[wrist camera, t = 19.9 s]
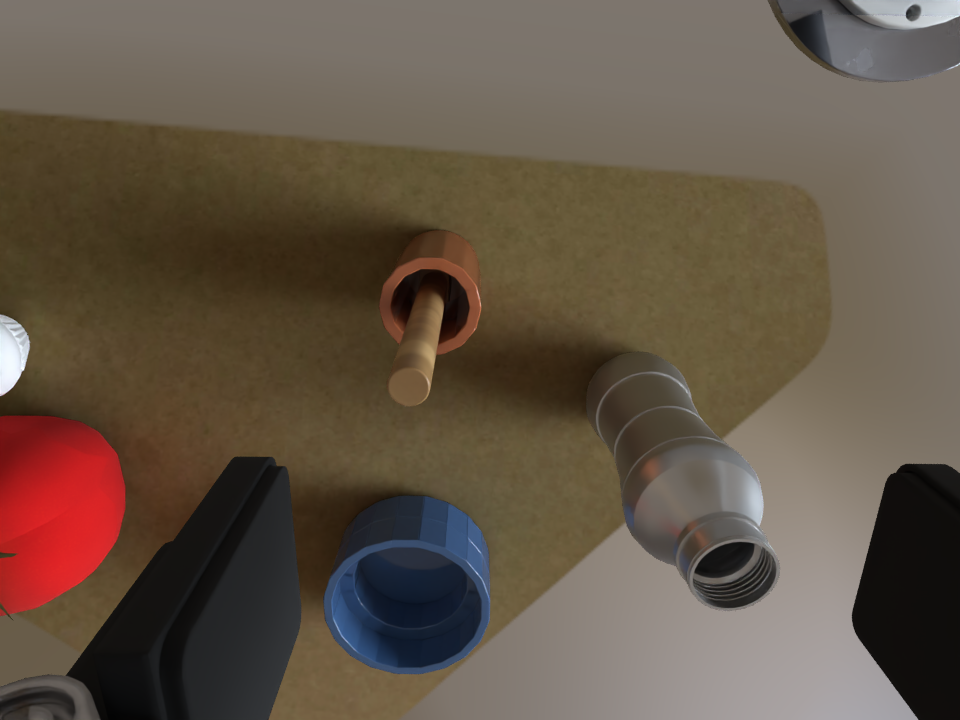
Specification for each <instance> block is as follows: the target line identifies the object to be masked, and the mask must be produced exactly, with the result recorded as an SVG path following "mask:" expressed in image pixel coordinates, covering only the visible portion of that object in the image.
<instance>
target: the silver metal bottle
mask: <svg viewBox="0 0 960 720" xmlns="http://www.w3.org/2000/svg"><path fill="white" fill-rule="evenodd" d="M586 412H587V416H588V420H589V422H590V424H591V426H592V427H593V429H594V430H595V432H596V433H597V435H598V436H599V437H600V438H601V439H602V441H603V442H604V443H605V444H606V445H607V446H608V448H609V450H610V452H611V453H612V455H613V457H614V459H615V463H616V466H617V470H618V474H619V477H620V487H621V497H622V506H623V511H624V515H625V520H626V524H627V527H628V529H629V531H630V533H631V535H632V536H633V537H634V538H635V540H636V541H637V542H638V543H639V544H640V545H641V546H642V547H643V548H644V549H645V550H646V551H647V552H648V553H649V554H651V555H652V556H654V557H655V558H656V559H658V560H660V561H663V562H665V563H667V564H671V565H674V566H676V567H677V569H678V571H679V573H680V575H681V576H682V578H683V579H684V580H685V581H686V582H687V584H688V586H689V588H690V590H691V592H692V594H693V595H694V596H695V597H696V598H697V599H698V601H700V602H701V603H702V604H704V605H705V606H708V607H710V608H713V609H716V610H724V611H732V610H739V609H744V608H747V607H749V606H752V605H754V604H756V603H758V602H759V601H761V600H762V599H763V598H765V597H766V596H767V595H768V594H769V593H770V592H771V591H772V590H773V588H774V587H775V585H776V583H777V580H778V578H779V574H780V565H779V561H778V558H777V555H776V553H775V551H774V550H773V549H772V547H771V546H770V544H769V543H768V540H767V538H766V535H765V533H764V532H763V531H762V529H761V528H760V527H759V526H760V522H761V519H762V516H763V506H764V503H763V497H762V491H761V485H760V481H759V479H758V477H757V474H756V472H755V471H754V469H753V468H752V467H751V465H750V464H749V463H748V462H747V461H746V460H745V459H744V458H743V457H742V456H741V455H740V454H739V453H738V452H737V451H736V450H734V449H733V448H732V447H730V446H729V445H728V444H727V443H726V442H724V441H723V440H722V439H721V438H719V437H718V436H717V435H716V434H715V433H714V432H713V431H712V430H711V429H710V428H709V426H708V425H707V424H706V423H705V422H704V421H703V420H702V419H701V417H700V416H699V414H698V412H697V410H696V408H695V406H694V404H693V402H692V398H691V393H690V391H689V388H688V386H687V383H686V381H685V379H684V377H683V375H682V374H681V373H680V371H679V370H678V369H677V368H676V367H675V366H673V365H672V364H671V363H669V362H668V361H666V360H664V359H662V358H661V357H659V356H657V355H654V354H651V353H647V352H629V353H625V354H621V355H619V356H616V357H614V358H612V359H610V360H609V361H607V362H606V363H604V364H603V365H602V366H601V367H600V368H599V369H598V370H597V371H596V373H595V374H594V375H593V377H592V379H591V381H590V383H589V385H588V390H587V395H586Z"/></svg>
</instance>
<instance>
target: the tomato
mask: <svg viewBox="0 0 960 720" xmlns="http://www.w3.org/2000/svg"><path fill="white" fill-rule="evenodd" d="M124 511H125V483H124V479H123V475H122V471H121V466H120V462H119V458H118V454H117V453H116V452H115V450H114V449H113V448H112V447H111V446H110V445H109V443H108V442H107V441H106V440H105V439H104V438H103V436H102V435H101V434H100V433H99V432H98V431H97V430H95V429H93V428H91V427H89V426H88V425H86V424H84V423H82V422H80V421H75V420H70V419H65V418H59V417H54V416H25V415H22V416H2V417H0V616H3V615H8V616H9V617H10V615H9V614H12V613H17V612H21V611H26V610H30V609H34V608H37V607H39V606H41V605H43V604H45V603H47V602H49V601H51V600H52V599H54V598H56V597H57V596H59V595H61V594H62V593H64V592H66V591H67V590H69V589H71V588H72V587H74V586H76V585H77V584H79V583H81V582H82V581H83V580H84V579H85V578H87V577H88V576H89V575H90V574H91V573H92V572H93V571H95V570H96V568H97V567H98V566H99V565H100V563H101V562H102V561H103V559H104V558H105V557H106V555H107V554H108V552H109V551H110V550H111V548H112V547H113V545H114V544H115V542H116V541H117V538H118V535H119V532H120V528H121V524H122V520H123V515H124ZM10 618H11V617H10ZM11 619H12V618H11Z"/></svg>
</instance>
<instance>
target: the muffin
mask: <svg viewBox="0 0 960 720" xmlns="http://www.w3.org/2000/svg"><path fill="white" fill-rule="evenodd" d="M28 338H29V336H27V332H26V331H25V330H24V328H23V327H22V326H21V324H18V322H17V321H15V320H14V319H12V318H9V317H7V316H4V315H0V396H2V395H4V394H5V393H7V392H8V391H9V390H11V389H12V388H13V387H14V385H15V384H16V382H17V381H18V378H20V376H21V372H22V371H24V368H25V364H26V360H27V356H28V352H29V348H30V345H29V343H30V341H29V340H28Z"/></svg>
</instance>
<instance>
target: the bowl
mask: <svg viewBox="0 0 960 720" xmlns="http://www.w3.org/2000/svg"><path fill="white" fill-rule="evenodd" d="M323 602H324V614H325V621H326V623H327V625H328V627H329V629H330V631H331V633H332V635H333V637H334V639H335V641H336V642H337V643H338V644H339V645H340V646H341V647H342V648H343V649H344V650H345V651H346V652H347V653H348V654H349V655H350V656H352V657H353V658H355V659H357V660H359V661H361V662H362V663H364V664H366V665H368V666H370V667H372V668H375V669H379V670H383V671H387V672H391V673H395V674H424V673H428V672H432V671H436V670H440V669H444V668H446V667H448V666H450V665H452V664H454V663H455V662H457V661H459V660H461V659H463V658H464V657H465V656H467V655H468V654H469V653H470V652H471V650H472V649H473V648H474V647H475V646H476V645H477V644H478V643H479V642H480V641H481V639H482V637H483V635H484V632H485V630H486V628H487V625H488V623H489V620H490V583H489V552H488V548H487V545H486V543H485V540H484V537H483V534H482V532H481V531H480V529H479V528H478V527H477V526H476V525H475V523H474V522H473V521H472V520H471V519H470V517H469V516H468V515H467V514H465V513H464V512H462V511H460V510H459V509H457V508H456V507H454V506H453V505H451V504H449V503H448V502H445V501H441V500H438V499H434V498H431V497H427V496H397V497H393V498H389V499H386V500H382V501H378V502H377V503H375V504H373V505H372V506H370V507H369V508H367V509H365V510H364V511H362V512H361V513H359V514H358V515H357V516H356V517H355V518H354V520H353V521H352V522H351V523H350V525H349V526H348V527H347V528H346V530H345V532H344V534H343V537H342V541H341V544H340V547H339V550H338V553H337V556H336V559H335V562H334V566H333V569H332V572H331V575H330V578H329V581H328V584H327V587H326V591H325V594H324V597H323Z"/></svg>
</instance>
